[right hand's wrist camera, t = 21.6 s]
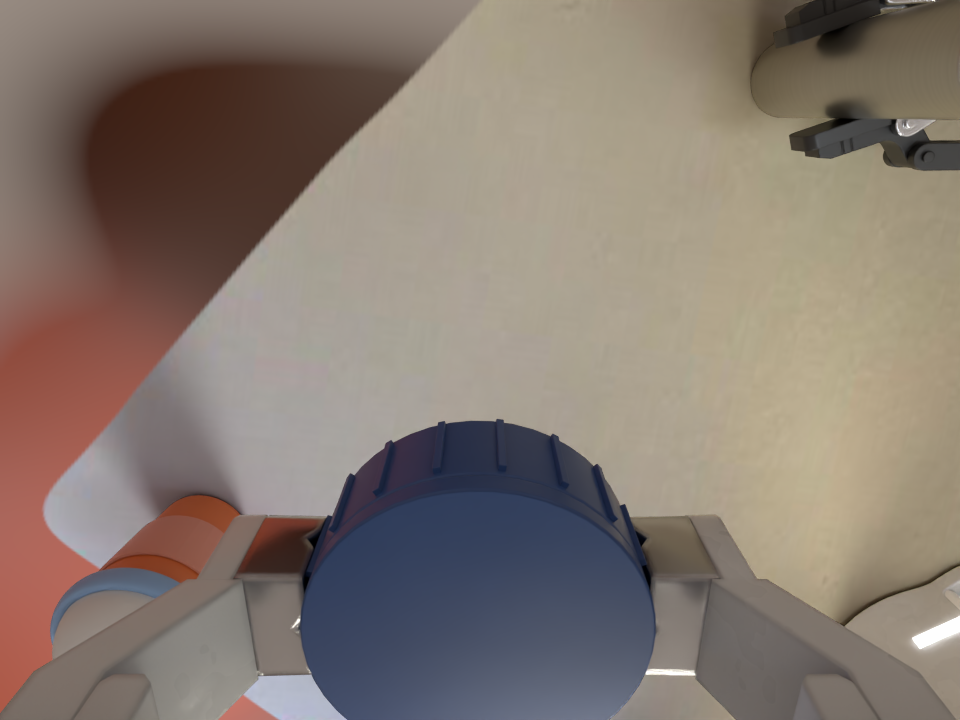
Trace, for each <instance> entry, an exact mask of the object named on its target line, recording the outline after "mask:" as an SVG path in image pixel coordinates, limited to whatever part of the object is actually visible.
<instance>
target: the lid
mask: <svg viewBox="0 0 960 720" xmlns="http://www.w3.org/2000/svg"><path fill="white" fill-rule="evenodd" d="M644 565H647V562H646V560H645V557H644V554H643V551H642V549H641V546H640V543H639V541H638V538H637V535H636V532H635V530H634V527H633V524H632V521H631V519H630V516H629V513H628V511H627V508H626V505H625V504H624V505H621V506H620V504H619V502H618V500H617V498H616V496H615V494H614V492H613V490H612V489H611V487H610V485H609V484H608V483H607V481H606V480H605V478H604V475H603V472H602V469H601V467H600V466H599V465H598V464H596V465H595V466H593V465H592V464H591V463H590V462H589V461H588V460H587V459H586V458H584V457H583V456H582V455H580V454H579V453H578V452H576V451H575V450H574V449H572V448H571V447H569V446H567V445H566V444H564V443H562V442H560V441H559V437H558V436H556V435H554V434H552V435H551V436H548V435H546V434H543V433H541V432H538V431H536V430H533V429H530V428H526V427H522V426H518V425H514V424H508V423H504V420H501V419H497V420H496V422H494V421H464V422H454V423H447V424H446V423H445V421H443V422H438V426H434V427H430V428H427V429H424V430H421V431H418V432H415V433H412V434H410V435H408V436H406V437H404V438H402V439H400V440H398V441H396V442H394V443H393V442H392V440H390V441H389V442H387V443H386V444H385V448H384V449H383V450H382V451H380V452H379V453H377V454H376V455H374V456H373V457H372V458H371V459H370V460H369V461H368V462H367V463H366V464H364V465H363V466H362V467H361V468H360V470H359V471H358V472H357V473H356V474H355V475H353V474H351V473H350V474H349V476H348V477H347V479H346V482H345V484H344V487H343V490H342V493H341V495H340V498H339V501H338V504H337V506H336V508H335V511H334V513H333V516H329V515H328V516H327V518H326V521H325V523H324V526H323V529H322V531H321V534H320V537H319V539H318V542H317V545H316V547H315V550H314V553H313V555H312V558H311V560H310V563H309V566H308V568H307V571H306V577H309V578H310V579H309V582H308V585H307V587H306V590H305V594H304V598H303V602H302V607H301V616H300V634H301V643H302V648H303V652H304V656H305V659H306V663H307V666H308V668H309V670H310V672H311V674H312V677H313V679H314V681H315V682H316V684H317V685H318V687H319V689H320V690H321V692H322V693H323V695H324V696H325V697H326V699H327V700H328V701H329V702H330V703H331V704H332V706H333V707H334V708H335V709H336V710H337V711H338V712H339V713H340V714H341V715H342V716H344V717H345V718H346V719H347V720H609V719H611V718H612V717H613V716H614V715H615V714H616V713H617V712H618V711H619V710H620V709H621V708H622V707H623V706H624V705H625V704H626V703H627V701H628V700H629V699H630V697H631V696H632V695H633V693H634V692H635V690H636V689H637V688H638V686H639V684H640V682H641V680H642V679H643V677H644V675H645V673H646V671H647V668H648V665H649V662H650V659H651V656H652V653H653V648H654V641H655V635H656V614H655V609H654V604H653V598H652V595H651V592H650V589H649V586H648V583H647V581H646V578H645V575H644V572H643V569H642V566H644Z"/></svg>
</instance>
